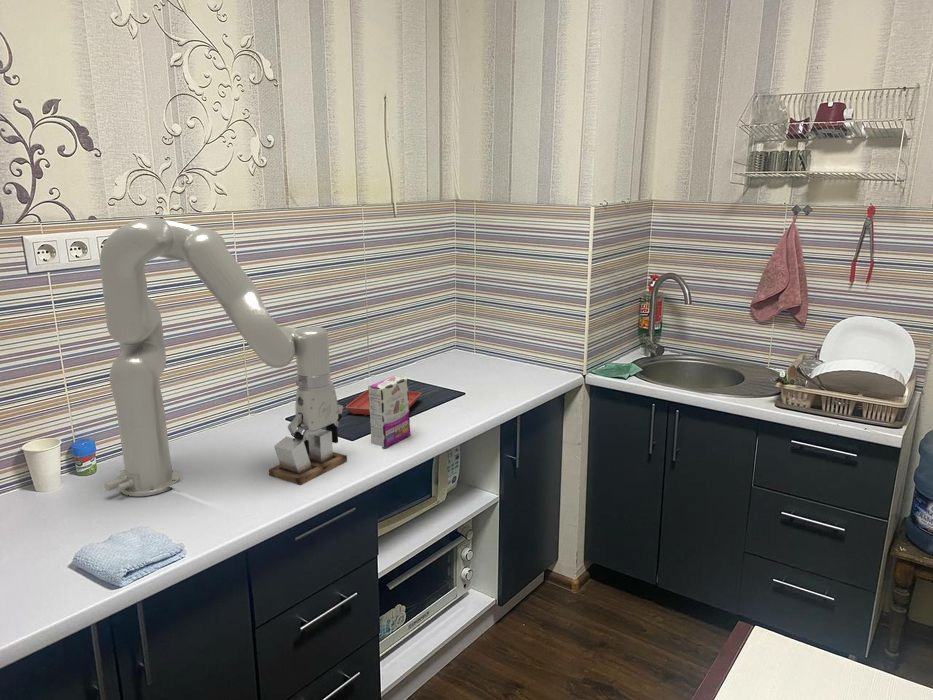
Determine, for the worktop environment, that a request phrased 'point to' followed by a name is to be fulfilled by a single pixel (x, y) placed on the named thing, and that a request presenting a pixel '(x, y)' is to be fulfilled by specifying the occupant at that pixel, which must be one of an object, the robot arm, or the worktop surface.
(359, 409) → the plant saucer
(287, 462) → the block
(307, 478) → the wooden divided tray
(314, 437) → the billet
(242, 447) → the worktop surface
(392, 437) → the candy bar box
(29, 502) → the worktop surface
